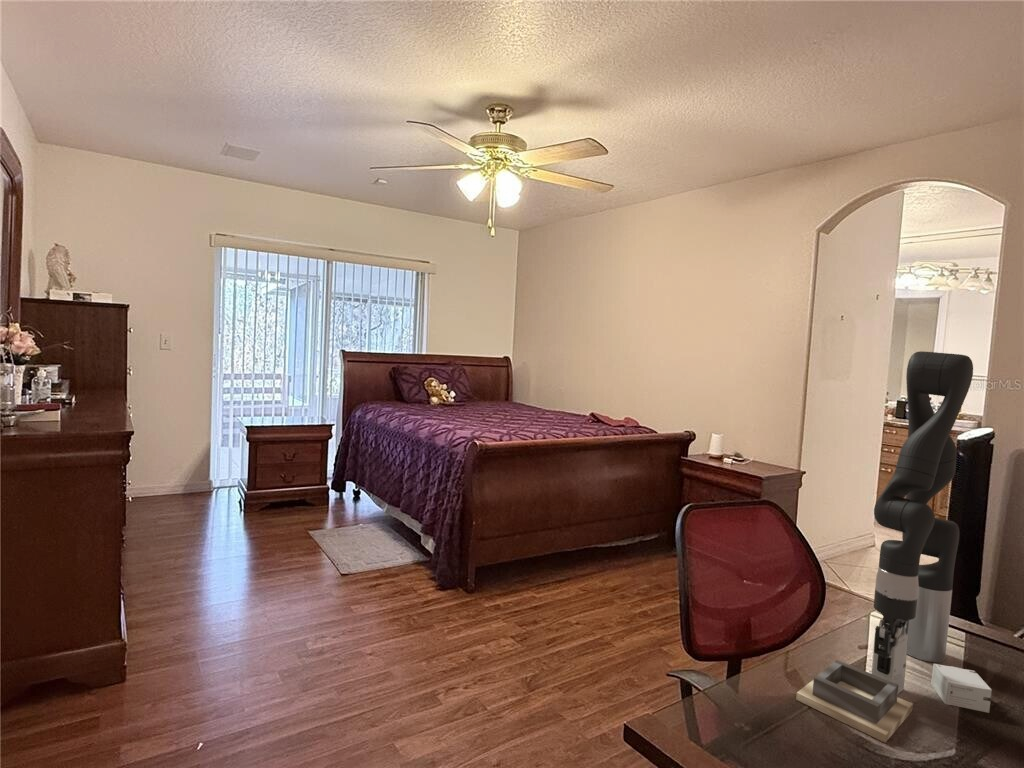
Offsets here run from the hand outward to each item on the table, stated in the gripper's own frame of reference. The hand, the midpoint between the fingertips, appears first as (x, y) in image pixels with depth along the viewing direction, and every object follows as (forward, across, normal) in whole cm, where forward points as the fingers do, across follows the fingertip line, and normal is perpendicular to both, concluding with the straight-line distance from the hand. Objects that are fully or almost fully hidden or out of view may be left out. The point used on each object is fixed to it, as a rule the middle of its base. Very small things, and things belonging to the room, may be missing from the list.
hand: (888, 667), depth 124 cm
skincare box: (+5, 0, 0) cm, 5 cm away
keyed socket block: (+5, +13, -2) cm, 14 cm away
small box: (+5, -9, +11) cm, 15 cm away
